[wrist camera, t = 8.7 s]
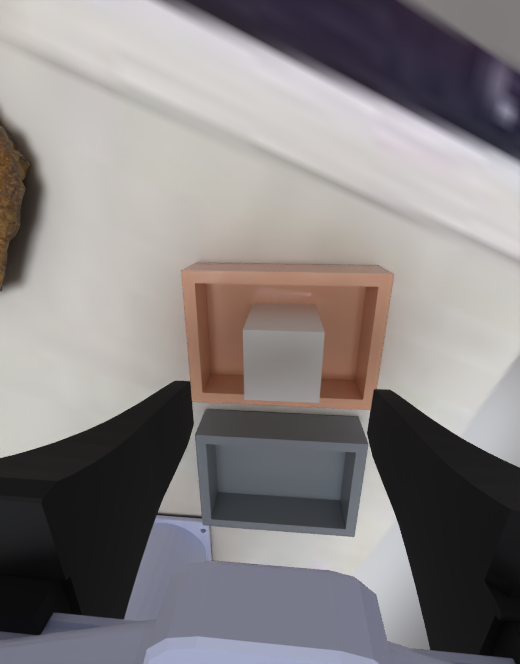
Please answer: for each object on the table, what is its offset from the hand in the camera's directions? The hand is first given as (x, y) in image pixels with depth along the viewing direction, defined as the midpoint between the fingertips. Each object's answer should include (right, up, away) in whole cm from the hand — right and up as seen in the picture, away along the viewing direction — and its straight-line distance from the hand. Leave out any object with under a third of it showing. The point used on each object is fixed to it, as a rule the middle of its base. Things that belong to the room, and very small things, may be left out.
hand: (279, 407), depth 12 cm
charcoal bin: (+1, -7, +13) cm, 14 cm away
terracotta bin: (+1, +3, +9) cm, 9 cm away
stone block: (+1, +3, +8) cm, 9 cm away
